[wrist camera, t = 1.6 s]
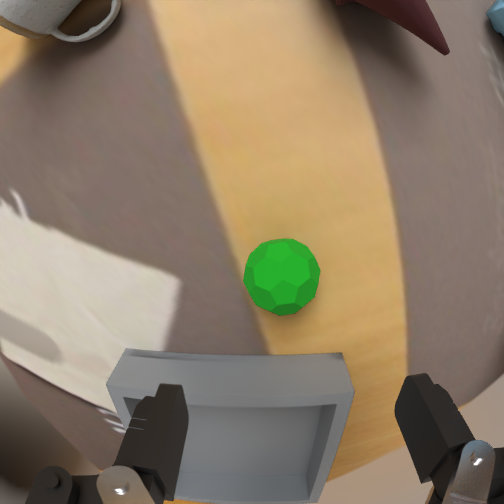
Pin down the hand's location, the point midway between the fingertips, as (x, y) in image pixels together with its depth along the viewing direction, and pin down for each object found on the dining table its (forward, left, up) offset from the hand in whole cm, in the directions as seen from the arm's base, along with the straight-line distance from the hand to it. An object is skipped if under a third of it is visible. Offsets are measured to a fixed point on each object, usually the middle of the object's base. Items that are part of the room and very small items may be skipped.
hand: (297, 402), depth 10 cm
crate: (+4, +19, -14) cm, 24 cm away
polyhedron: (0, 0, -14) cm, 14 cm away
